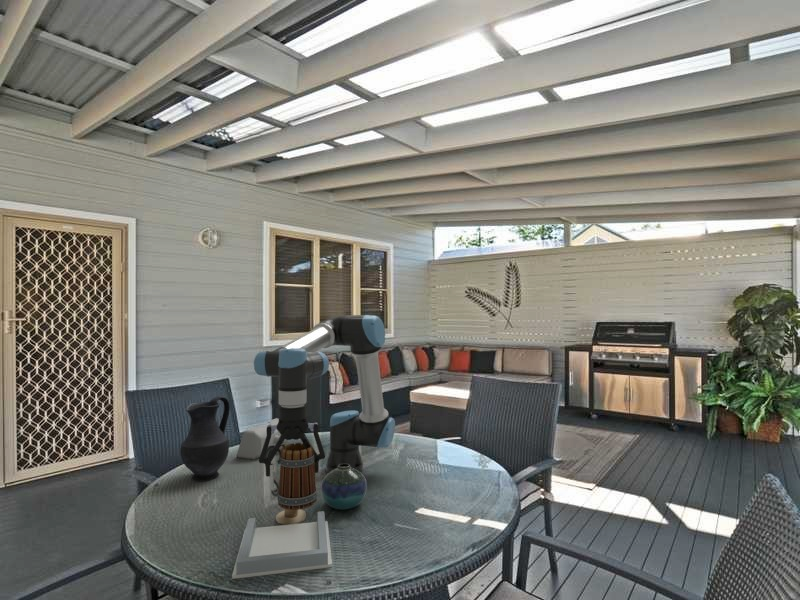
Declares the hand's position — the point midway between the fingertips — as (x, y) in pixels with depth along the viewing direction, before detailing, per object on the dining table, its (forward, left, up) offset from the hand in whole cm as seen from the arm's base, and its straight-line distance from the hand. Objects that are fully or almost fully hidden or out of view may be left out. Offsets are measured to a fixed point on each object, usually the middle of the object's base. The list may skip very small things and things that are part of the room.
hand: (292, 486), depth 125 cm
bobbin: (+1, -19, -17) cm, 25 cm away
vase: (-16, -25, -17) cm, 34 cm away
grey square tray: (+2, -1, -17) cm, 17 cm away
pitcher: (+34, -64, -17) cm, 74 cm away
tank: (+14, -90, -17) cm, 93 cm away
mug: (+1, 0, -4) cm, 4 cm away
